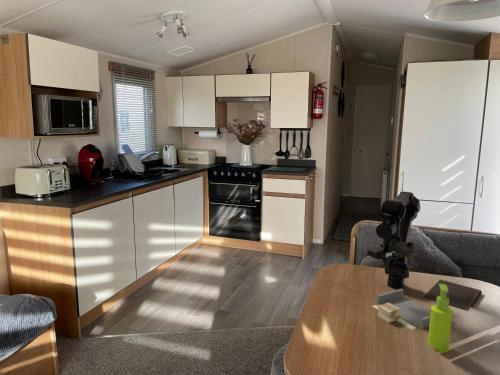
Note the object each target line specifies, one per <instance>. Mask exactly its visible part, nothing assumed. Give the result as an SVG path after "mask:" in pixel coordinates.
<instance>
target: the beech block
mask: <svg viewBox="0 0 500 375" xmlns="http://www.w3.org/2000/svg"><path fill="white" fill-rule="evenodd" d="M377 306H378V310H377V317H379V318H380V319H382V320H383V321H385V322H387V323H392V322H395V321H396V320H399V318H400V316H399V315H400V308H398V307H396V306H394V305H392V304H390V303H386V304H382V305H379V304H378V305H377Z"/></svg>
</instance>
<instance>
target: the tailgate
mask: <svg viewBox="0 0 500 375" xmlns="http://www.w3.org/2000/svg"><path fill="white" fill-rule="evenodd" d="M378 306H379V305H378V304H373V305H371V307H372V308H374V309H376V310H377V311H378ZM396 321H397V322H398V323H399V324H401V325H403V326H405V327H407V328H408V329H410V330H415V329H416V326H414V325H413V324H410V323H408V321H407V322H406V321H405V320H403V319H401V318H400V317H399V320H396Z"/></svg>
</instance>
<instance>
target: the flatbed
mask: <svg viewBox="0 0 500 375" xmlns="http://www.w3.org/2000/svg"><path fill="white" fill-rule="evenodd" d="M404 291H405V290H404V289H403V288H398V289H396V290H392V291H388V292H385V293H381V294H378V295H376V305H378V306H379V305H382V304H386V303H390V304H392V305H394V306H396V307H398V308H400V315H399V318H400V317H401V318H402V319H404V320H406V321H407V322H409V323H412V325H413V326H414V325H415V327H418V328H420V329H424V328H427V327H428V328H429V324H430V314H431V309H428V308H426V307H424V306H423V305H421V304H419V303H416V302H414V301H412V300H410V299H408V298H407V297H404V293H405V292H404Z"/></svg>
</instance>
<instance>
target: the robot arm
mask: <svg viewBox="0 0 500 375" xmlns="http://www.w3.org/2000/svg"><path fill="white" fill-rule="evenodd" d="M414 194H415V193H413V192H412V191H400V192H399V194H397V196H395V197H394V198H386V199H385V200H384V201H383V202H382V204H381V208H380V211H379V215H378V219H381V220H382V221H381V223H379V224H378V225H377V226H376V229H375V233H376V235H377V237H379V238H380V239H382V243H379V247H380V248H379V247H377V246H373V247H369V248H368V249H367V250H366V256H369V257H370V258H373V259H376V260H381V261H382V263H383V266H384V274H385V275H388V276H387V277H388V278H387V283H386V286H387V287H388V288H391V289H403V288H404V286H405V280H406V279H408V278H410V268H409V265H408V259H407V257H410V255H411V254H412V253H415V243H414V242H413V241H409V236H410V231H411V227H412V223H413V221H414V220H415V219H416V218H418V214H419V213H420V211H421V201H420V200H419V199H418V198H417V197H416V196H415V195H414Z"/></svg>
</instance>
